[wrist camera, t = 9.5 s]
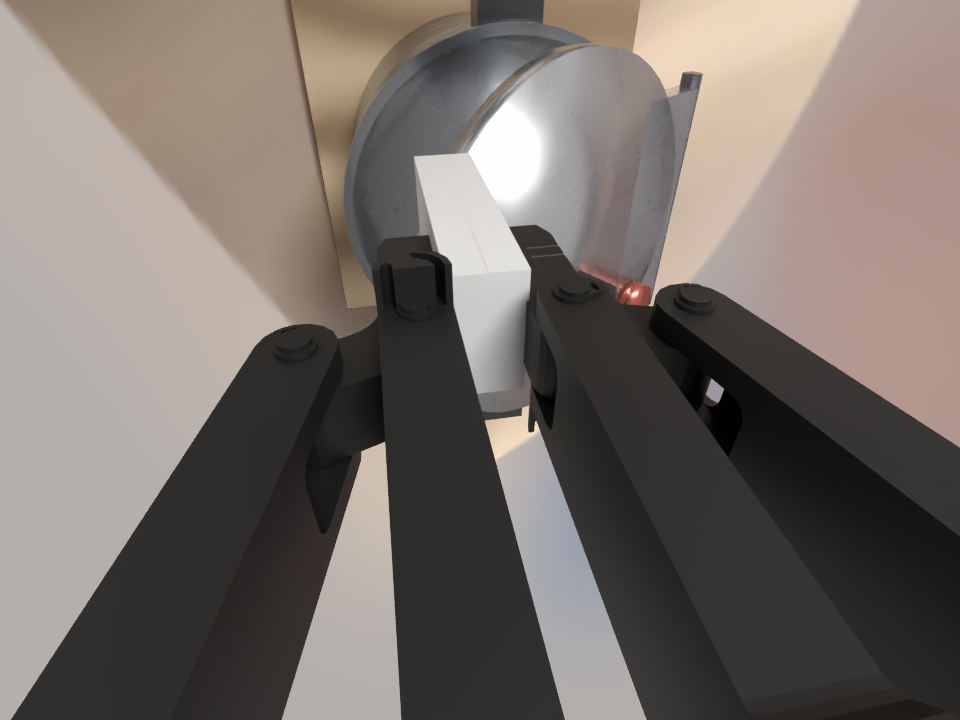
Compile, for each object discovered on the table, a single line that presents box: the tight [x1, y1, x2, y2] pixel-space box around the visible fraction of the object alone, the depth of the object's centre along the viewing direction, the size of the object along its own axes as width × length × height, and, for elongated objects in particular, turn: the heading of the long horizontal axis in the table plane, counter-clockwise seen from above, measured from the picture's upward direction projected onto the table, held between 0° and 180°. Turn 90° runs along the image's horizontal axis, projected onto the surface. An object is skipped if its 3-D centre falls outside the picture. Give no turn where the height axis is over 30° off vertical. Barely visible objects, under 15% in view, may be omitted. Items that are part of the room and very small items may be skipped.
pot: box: [344, 0, 592, 420], centre depth 29 cm, size 24×16×9 cm, turn 0°
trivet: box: [290, 0, 640, 309], centre depth 32 cm, size 20×18×1 cm
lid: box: [417, 43, 703, 412], centre depth 21 cm, size 14×15×3 cm
